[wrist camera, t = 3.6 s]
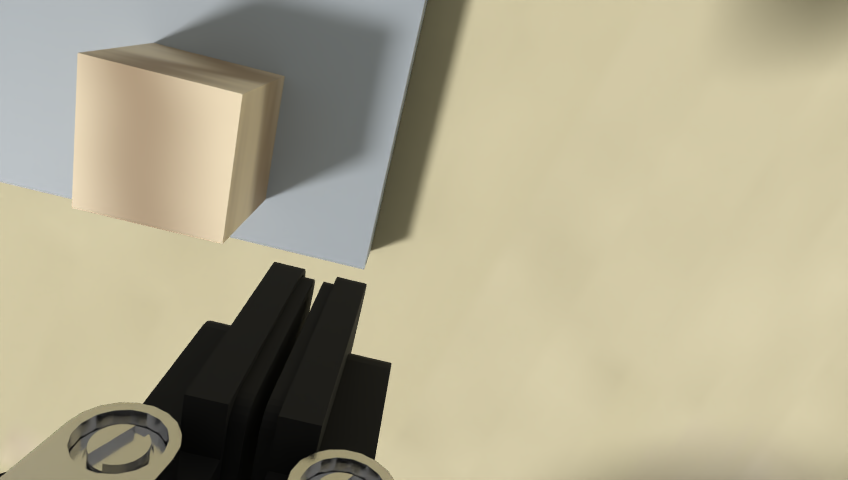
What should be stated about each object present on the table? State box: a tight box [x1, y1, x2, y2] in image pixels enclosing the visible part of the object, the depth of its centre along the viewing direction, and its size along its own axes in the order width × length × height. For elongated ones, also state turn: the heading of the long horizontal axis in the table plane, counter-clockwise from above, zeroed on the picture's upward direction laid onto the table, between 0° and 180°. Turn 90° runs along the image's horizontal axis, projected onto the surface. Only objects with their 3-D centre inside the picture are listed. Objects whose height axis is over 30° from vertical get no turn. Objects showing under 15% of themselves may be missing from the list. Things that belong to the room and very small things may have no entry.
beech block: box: [72, 43, 285, 244], centre depth 22 cm, size 5×5×5 cm
